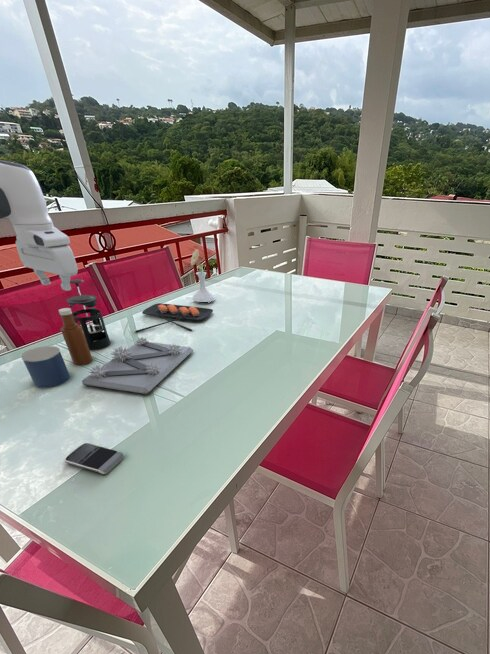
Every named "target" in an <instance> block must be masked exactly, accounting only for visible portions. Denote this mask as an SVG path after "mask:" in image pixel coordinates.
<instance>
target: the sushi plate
mask: <svg viewBox="0 0 490 654" xmlns="http://www.w3.org/2000/svg"><path fill="white" fill-rule="evenodd" d="M213 311H214V309H212V308H208V307H199V306H190V305H183V304H182V305H181V304H173V303H154V304H152V305H150V306H149V307H147V308H145V309H144V310H142V311H141V314H143V315H146V316H153V317H158V318H160V319H162V320H164V321H165V322H162V323H157V324H154V325H151V326H148V327H143V328H140V329H136V330H135V333H140V332H142V331H147V330H149V329H152V328H155V327H158V326H162V325H165V324H169V323H170V324H173V325H176V326H179V327H181V328H183V329H185V330H187V331H190V332H193V330H192V328H190V327H187V326H184V325H182V324H180V323H177V322H174V321H179V320H186V321H203V320H205V319H206V318H208V317H209V316H211V314H212V313H213ZM171 319H172V320H171Z"/></svg>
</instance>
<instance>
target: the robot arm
mask: <svg viewBox="0 0 490 654" xmlns="http://www.w3.org/2000/svg"><path fill="white" fill-rule="evenodd" d="M47 207H48V206H47V201H46V197H45V196H44V193H43V190H42V188H41V186H40V183H39V181H38V179H37V177H36V176H35V174H34V172H33V171H32V169H30V168H29V167H28V166H26V165H25V164H22V163H19V162H14V161H10V160H3V159H0V221H1V220H5V219H6V220H7V219H8V220H10V222H11V224H12V225H11V226H12V227H13V231H14V232H15V234H16V236H15V238H16V240H15V247H16V251H17V253H18V257H19V259H20V262H21V264H22V265H23V266H24V267H25V268H28V269H31V270H33V272H34V274H35V275H36V277H38V279H39V281H40V283H41V285H42V286H50V285H51V284H52V282H51V280H50V278H48V276H47V274H46V273H49V274H52V275H53V274H54V275H58V277H59V279H60V280H61V283H60V287H61V289H62V291H66V292H68V291H71V290H72V287H71V283H70V281H71V277H72V276H76V275H78V271H79V268H78V264H77V261H76V257H75V254H74V252H73V250H72V248H71V247H70V244H71V240H70V237H69V235H67V234H66V233H64V232H62V231H61V230H60V229H58V228H57V227H56V226H55V225H54V222H53V220H52V218H51V216H50V215H49V213H48V209H47Z"/></svg>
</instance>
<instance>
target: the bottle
mask: <svg viewBox="0 0 490 654" xmlns="http://www.w3.org/2000/svg"><path fill="white" fill-rule="evenodd" d="M58 313H59V315H60V317H61V321H62V327H60V332H61V334H62V336H63V339H64V342H65V345H66V347H67V350H68V353H69V355H70V357H71V360H72V363H73V365H74V366H77V367H78V366H82V367H83V366H86V365H89V364H92V363H93V361H94V359H93V356H92V353H91V350H89V347H88V344H87V341H86V338H85V335H84V332H83V329H82V326H81V324H79V323H78V324H77V323H76V322H75V321H74V318H73V315H72V313H73V312H72V308H71V307H63V308H60V309H58Z"/></svg>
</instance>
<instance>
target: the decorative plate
mask: <svg viewBox="0 0 490 654" xmlns="http://www.w3.org/2000/svg"><path fill="white" fill-rule="evenodd" d="M112 349H113V350H112V351H109V352H110V355H112V356H111V357H109V358H110V361H108V362H106V363H105V364H103V365H101V364H95V365H91V366H90V368H89V373H90V374H88V375H87V376H86V377H84V378H83V379H81V382H82V385H84V386H91V387H97V388H103V389H110V390H117V391H123V392H129V393H136V394H143V395H148V394H149V393H150V392H151V391H152V390H153V389H154V388H155V387H156V386H157V385H158V384H160V383H161V382H162V381H163V380H164V379H165V378H166V377H167V376H168V375H169V374H171V372H172V371H174V369H175V368H176V367H177V366H179V365H180V364H181V363H182V362H183V361H184V360H185V359H186V358H187V357H188V356H189V355H190V354H191V353H192V352H193V351H194V349H193V348H192V347H190V346H183V345H179V344H177V345H176V344H175V342H173V343H172V344H168V343H162V342H161V343H160V342H152V341H150V340H148V338H146V337H138V338H137V339H136V340H135V343H134V344H133V345H131V346H130V347H128V348H127V346H125V347H124V348H123V345H120V346H119V347H113V348H112Z"/></svg>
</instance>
